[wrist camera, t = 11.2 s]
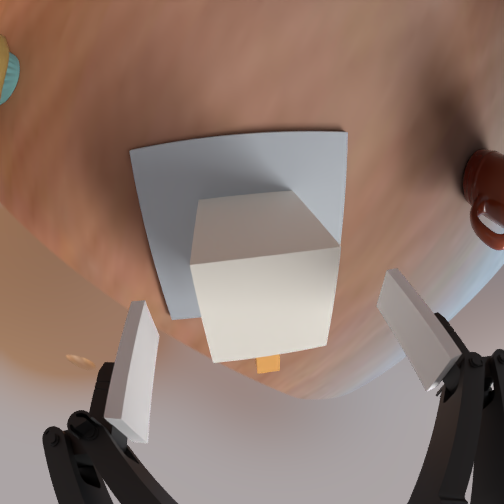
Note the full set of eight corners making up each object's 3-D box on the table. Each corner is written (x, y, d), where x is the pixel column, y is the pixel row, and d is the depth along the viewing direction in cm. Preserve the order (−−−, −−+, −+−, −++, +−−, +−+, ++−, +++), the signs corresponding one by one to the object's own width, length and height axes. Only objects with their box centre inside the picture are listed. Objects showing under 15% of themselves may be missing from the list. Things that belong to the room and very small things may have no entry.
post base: (131, 149, 17) (101, 168, 12) (344, 131, 19) (387, 145, 14) (172, 316, 26) (167, 364, 21) (331, 295, 27) (353, 337, 22)
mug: (490, 130, 19) (558, 158, 10) (496, 192, 23) (551, 229, 15) (429, 168, 21) (509, 212, 12) (440, 236, 25) (499, 289, 17)
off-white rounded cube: (198, 199, 20) (189, 264, 12) (292, 190, 20) (341, 246, 12) (216, 309, 25) (221, 391, 17) (290, 299, 25) (319, 375, 18)
